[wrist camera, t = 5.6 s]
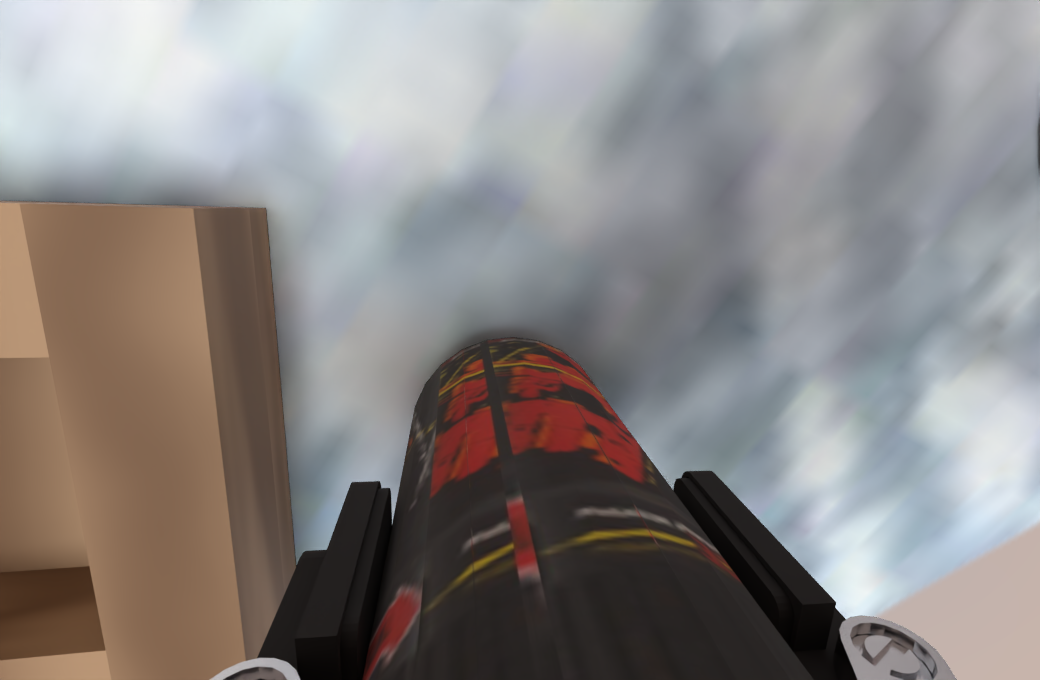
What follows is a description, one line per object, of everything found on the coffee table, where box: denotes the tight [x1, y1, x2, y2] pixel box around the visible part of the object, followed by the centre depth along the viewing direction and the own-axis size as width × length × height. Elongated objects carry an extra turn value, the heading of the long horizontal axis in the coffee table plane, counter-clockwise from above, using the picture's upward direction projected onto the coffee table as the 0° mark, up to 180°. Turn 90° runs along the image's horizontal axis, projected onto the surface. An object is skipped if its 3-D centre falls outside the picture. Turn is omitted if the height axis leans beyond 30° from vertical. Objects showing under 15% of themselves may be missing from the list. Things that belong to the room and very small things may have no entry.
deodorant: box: [362, 337, 814, 680], centre depth 9 cm, size 6×6×15 cm
